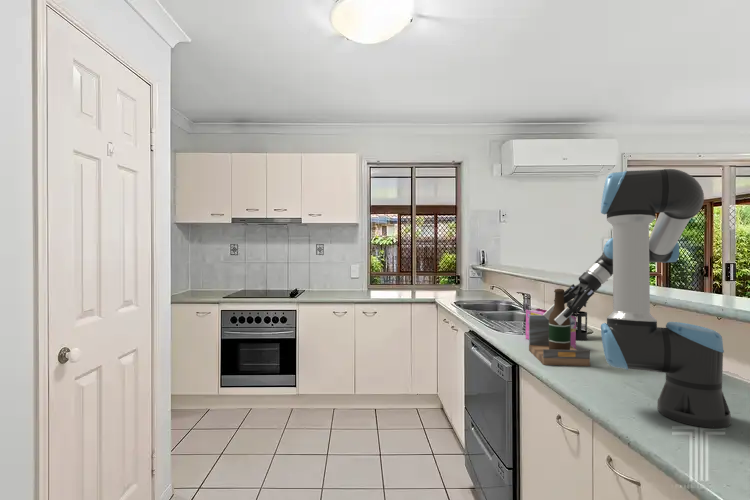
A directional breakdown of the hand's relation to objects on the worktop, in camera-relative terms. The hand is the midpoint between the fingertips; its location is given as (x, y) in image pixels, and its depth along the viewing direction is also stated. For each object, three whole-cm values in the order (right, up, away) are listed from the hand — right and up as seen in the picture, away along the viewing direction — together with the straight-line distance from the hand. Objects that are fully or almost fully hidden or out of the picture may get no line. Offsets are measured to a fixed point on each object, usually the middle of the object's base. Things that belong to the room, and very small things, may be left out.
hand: (551, 319), depth 161 cm
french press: (+25, -14, +34) cm, 45 cm away
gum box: (+9, -15, +24) cm, 29 cm away
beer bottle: (+3, -13, 0) cm, 13 cm away
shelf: (+3, -15, +2) cm, 15 cm away
